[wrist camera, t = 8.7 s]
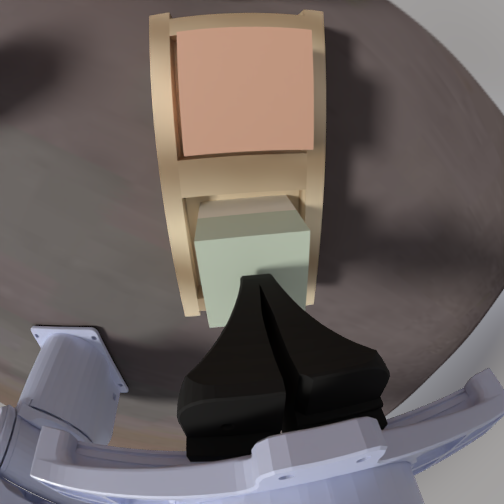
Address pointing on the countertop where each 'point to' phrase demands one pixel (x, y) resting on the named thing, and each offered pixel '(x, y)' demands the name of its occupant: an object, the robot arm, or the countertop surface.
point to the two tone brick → (249, 249)
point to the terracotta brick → (245, 89)
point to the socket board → (233, 163)
